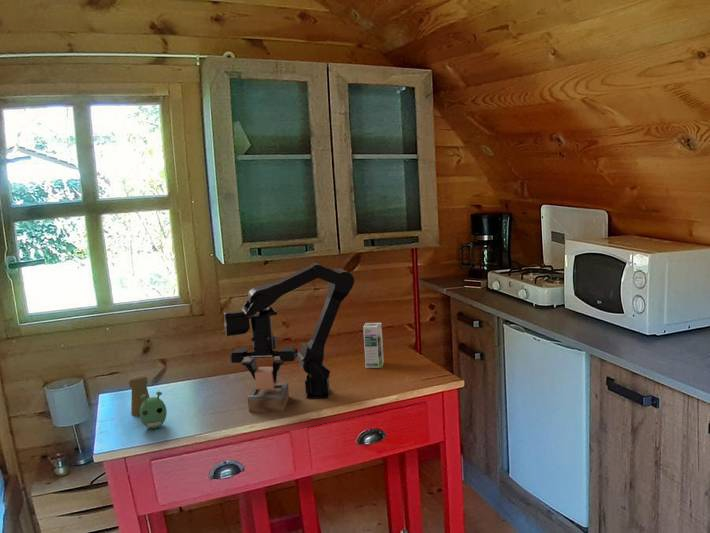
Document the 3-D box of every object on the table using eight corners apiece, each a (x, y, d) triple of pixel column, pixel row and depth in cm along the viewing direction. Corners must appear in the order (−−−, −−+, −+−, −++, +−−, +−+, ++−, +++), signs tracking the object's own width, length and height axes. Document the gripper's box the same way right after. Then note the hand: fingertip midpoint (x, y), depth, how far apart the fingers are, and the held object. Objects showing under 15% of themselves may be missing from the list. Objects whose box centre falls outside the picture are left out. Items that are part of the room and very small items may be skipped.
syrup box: (365, 368, 201) (362, 326, 199) (367, 362, 207) (365, 322, 204) (382, 368, 200) (379, 326, 198) (384, 362, 206) (381, 321, 203)
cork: (140, 417, 172) (135, 381, 170) (126, 413, 175) (122, 378, 173) (157, 409, 177) (152, 374, 175) (143, 406, 180) (139, 371, 178)
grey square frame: (289, 398, 180) (287, 382, 179) (283, 411, 170) (282, 395, 170) (256, 399, 181) (255, 384, 180) (249, 413, 171) (247, 397, 170)
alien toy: (140, 435, 160) (136, 400, 158) (142, 424, 167) (137, 390, 165) (168, 431, 162) (163, 396, 160) (168, 420, 169) (164, 386, 167)
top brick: (277, 382, 177) (275, 366, 176) (273, 389, 172) (271, 372, 172) (260, 383, 178) (259, 366, 177) (256, 389, 173) (254, 372, 172)
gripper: (299, 322, 179) (303, 372, 182) (238, 324, 181) (243, 373, 184) (291, 333, 168) (295, 385, 171) (227, 335, 170) (232, 387, 173)
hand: (266, 382), depth 175 cm, fingers closed on top brick, 5 cm apart
